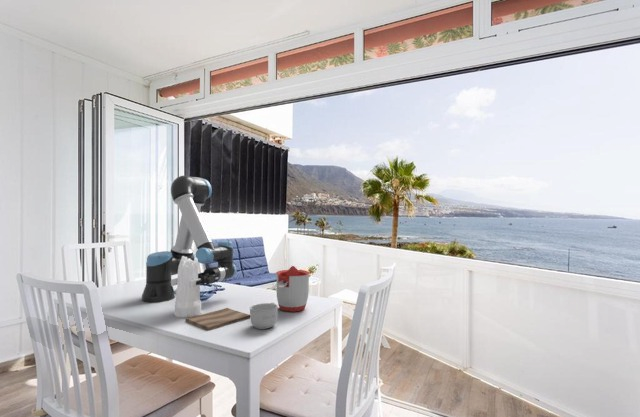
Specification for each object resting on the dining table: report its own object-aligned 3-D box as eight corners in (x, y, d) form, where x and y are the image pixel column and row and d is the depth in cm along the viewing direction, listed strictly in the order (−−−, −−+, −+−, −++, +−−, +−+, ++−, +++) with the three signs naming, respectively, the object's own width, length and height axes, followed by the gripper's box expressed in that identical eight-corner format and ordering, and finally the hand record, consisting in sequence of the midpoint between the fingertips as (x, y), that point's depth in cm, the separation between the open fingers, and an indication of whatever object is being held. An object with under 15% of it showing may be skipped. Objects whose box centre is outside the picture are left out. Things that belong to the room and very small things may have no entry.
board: (185, 321, 134) (185, 318, 134) (227, 310, 150) (227, 308, 150) (208, 330, 124) (208, 327, 124) (250, 317, 140) (250, 315, 140)
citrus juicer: (266, 311, 150) (266, 266, 151) (288, 302, 165) (289, 262, 166) (294, 316, 142) (295, 270, 143) (315, 307, 157) (315, 265, 158)
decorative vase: (205, 314, 144) (206, 256, 145) (180, 319, 137) (181, 258, 137) (194, 308, 152) (195, 254, 153) (170, 313, 145) (171, 256, 145)
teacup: (264, 333, 122) (265, 311, 122) (243, 327, 128) (243, 306, 128) (287, 323, 134) (287, 303, 134) (267, 318, 140) (267, 299, 140)
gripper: (232, 284, 158) (201, 294, 137) (195, 280, 165) (160, 290, 144) (232, 268, 159) (202, 276, 137) (195, 265, 165) (161, 272, 144)
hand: (180, 283), depth 140 cm, fingers open, 9 cm apart
